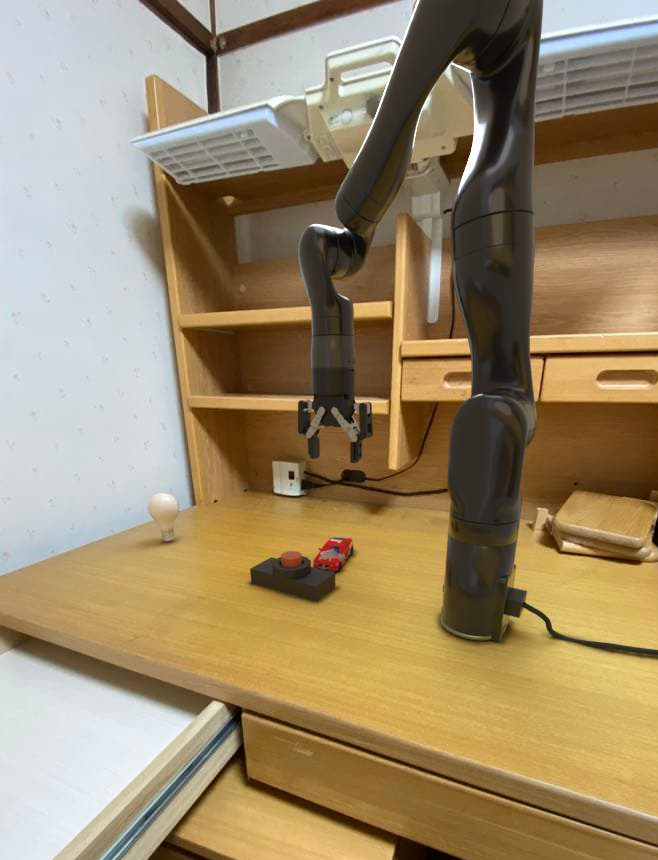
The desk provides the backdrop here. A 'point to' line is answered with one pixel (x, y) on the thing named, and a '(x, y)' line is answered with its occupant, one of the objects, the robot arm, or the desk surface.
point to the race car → (334, 554)
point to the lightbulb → (164, 513)
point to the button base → (293, 578)
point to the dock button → (291, 559)
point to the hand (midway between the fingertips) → (334, 460)
